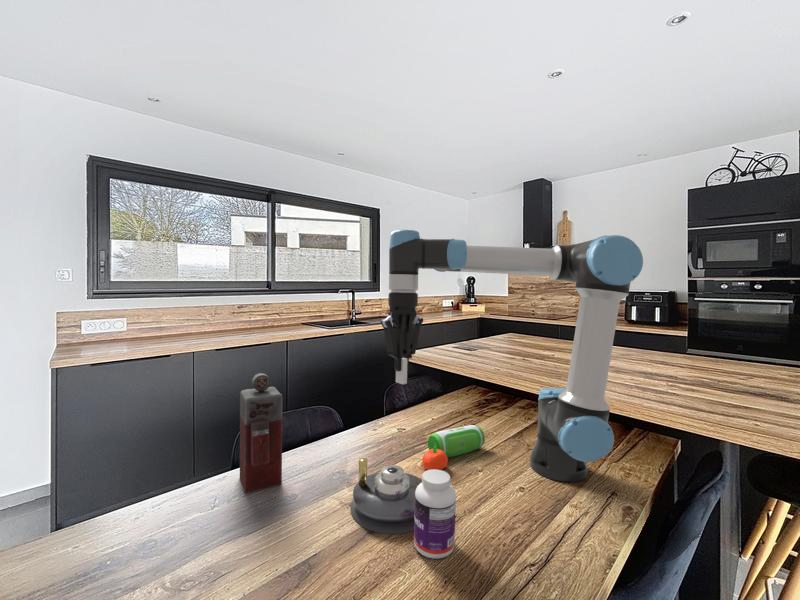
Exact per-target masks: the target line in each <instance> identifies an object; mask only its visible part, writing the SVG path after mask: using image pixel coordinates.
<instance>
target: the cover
mask: <svg viewBox="0 0 800 600" xmlns="http://www.w3.org/2000/svg"><path fill="white" fill-rule="evenodd" d="M380 472H381V473H380ZM380 472H378V473H379V474H377V475H376V477H375V495H376V496H377V497H378V498H379V499H381V500H384V501H391V502H393V501H400V500H403V499H405V498H406V497H407V496H408V495H409V477H408V475H406V474H405V473H406V472H405V471H404V468H403V467H401V466H400V465H396V464H389V465H385V466H383V467H382V468H381V470H380ZM404 472H405V473H404Z"/></svg>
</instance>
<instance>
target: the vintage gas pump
mask: <svg viewBox="0 0 800 600" xmlns="http://www.w3.org/2000/svg"><path fill="white" fill-rule="evenodd" d="M251 385H252V387H253V388H247V389H242V390H241V391H240V393H239V480H240V483H241V486H242V489H243V493H244V494H248V493H253V492H256V491H260V490H264V489H269V488H273V487H278V486H281V485H282V484H283V481H282V479H283V477H282V476H283V469H282V468H283V400H284V399H283V395H282V393H280V391H278V389H277V388H276V387H275V386H270V385H271V379H270V377H269V376H268V375H267V374H266V373H264V372H263V373H261V372H259V373H257V374H254V376H253V377H252V378H251Z"/></svg>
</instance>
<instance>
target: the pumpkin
mask: <svg viewBox="0 0 800 600" xmlns="http://www.w3.org/2000/svg"><path fill="white" fill-rule="evenodd" d="M421 460H422V461H421V466H423V469H425V470H426V471H427V470H432V469H436V470H442V471H443V470H444V468H446V467H447V466H448V462H449V457H447V456H446V454H445V453H444V452H443V451H442V450H439V449H436V447H435V446H434V447H433V449H431V450H429V449H428V450H427V451H426V452H425V453H424V454H423V456H422V459H421Z"/></svg>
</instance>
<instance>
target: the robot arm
mask: <svg viewBox="0 0 800 600" xmlns="http://www.w3.org/2000/svg"><path fill="white" fill-rule="evenodd" d="M389 238H390V240H389V248H388V251H389V253H388V257H389V260H388V266H389V267H388V273H389V274H388V290H389V291H390V292H389V293H388V298H387V299H388V303H387V304H388V306H389V311H388V316H387V317H386V318H383V319H381V320H380V324H381V326H382V328H383V333H384V339H385V344H386V350H387V355H388V356H389V357H392V358H393V361H394V363H393V365H394V366H393V368H394V371H395V383H397V384H400V385H406V384H408V370H409V364H410V359H412V358H413V355H416V351H417V347H418V343H419V342H418V341H419V337H420V331H421V327H422V324H423V322H424V318H422V317H419V316H418V315H417V313H418V312H417V310H416V308H417V307H418V306H419V305H418V304H419V302H418V301H419V294H418V292H417V291H418V290H419V270H420V269H422V270H425V269H428V270H435V271H437V272H443V273H445V272H453V273H454V272H460V273H461V272H463V273H480V274H483V273H485V274H501V275H502V274H503V275H504V274H506V275H525V276H526V275H527V276H544V277H545V276H548V277H550V279H552V280H553V281H554V280H556V281H557V280H558V281H560V280H561V281H568V282H573V283H575V287H574V290H575V291H576V292H577V293H578V295H579V296H580V299H579V304H578V305H579V306H578V311H577V318H576V325H575V331H574V336H573V344H572V350H571V354H570V355H571V357H570V362H569V368H568V374H567V375H568V376H567V381H566V387H544V388H542V389H540V390H539V392H538V393H539V394H538V398H537V400H538V410H537V411H538V413H537V414H538V416H537V438H536V441H535V443H534V445H533V448H532V451H531V453H530V457H529V465H530V468H531V469H532V470H533V471H534V472H536V473H537V474H539V475H540V476H543V477H545V478H548V479H550V480H553V481H554V480H555V481H558V482H564V483H575V482H581V481H583V480H585V479H587V477H588V463H593V462H596V461H599V460H601V459H602V458H605V457H607V455H608V454H610V452H611V450H612V449H613V446H614V443H615V442H614V441H615V436H614V432H613V429H612V427H611V425H610V424H609V417H610V409H611V406H610V405H609V404H608V402H607V401H606V400H605V395H606V390H607V382H608V377H609V371H610V370H609V369H610V363H611V358H612V352H613V345H614V340H615V339H614V338H615V334H616V328H617V327H616V326H617V320H618V315H619V308H620V302H621V301H622V300H624V299H625V298H626V297H628V296H629V294H630V288H631V283H632V282H633V281H634V280H635V279H637V277H639V276H640V274H641V271H642V270H643V267H644V257H643V253H642V251H641V249H640V247H639V246H638V245H637V244H636V243H635V242H634V241H633V240H632V239H630V238H629V237H626V236H623V235H620V234H611V235H602V236H599V237H596V238H594V239H591V240H587V241H583V242H579V243H574V244H565V245H564V244H563V245H562V244H561V245H560V244H556V245H554V246H552V248H540V247H518V246H517V247H515V246H513V247H512V246H492V245H491V246H489V245H488V246H487V245H467V241H466V240H464V239H456V238H451V239H450V238H449V239H448V238H447V239H444V238H441V239H440V238H439V239H437V238H436V239H435V238H433V239H432V238H430V239H428V238H421V236H420V232H419V231H417V230H414V229H411V230H410V229H396V230H394V231H391V233H390V237H389Z"/></svg>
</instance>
